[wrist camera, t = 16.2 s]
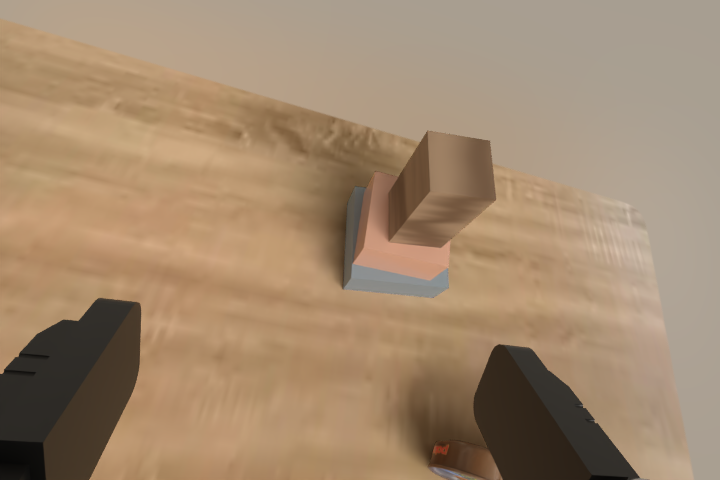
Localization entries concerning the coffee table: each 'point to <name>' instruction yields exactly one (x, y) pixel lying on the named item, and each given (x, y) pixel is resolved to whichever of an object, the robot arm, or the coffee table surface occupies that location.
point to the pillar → (441, 190)
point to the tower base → (379, 279)
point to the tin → (463, 461)
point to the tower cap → (375, 238)
